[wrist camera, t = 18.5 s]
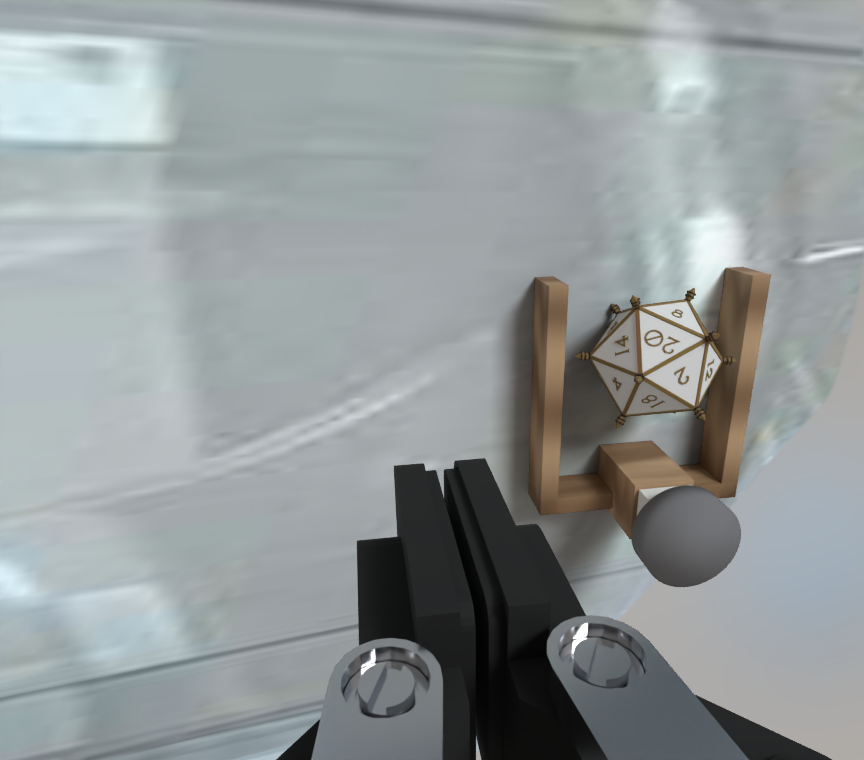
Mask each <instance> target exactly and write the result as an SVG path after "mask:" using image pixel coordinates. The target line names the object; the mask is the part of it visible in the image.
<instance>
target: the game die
mask: <svg viewBox="0 0 864 760" xmlns="http://www.w3.org/2000/svg"><path fill="white" fill-rule="evenodd" d="M695 295H696V294H695V288H693V289H691V290H689V291H687V294H685V296H686V298H685V299H684V300H677V301H670V302H662V303H654V304H647V305H640V303H641V302H640V301H639V300H640V298H637V297H635V296H632V298H631V300H630V302H631V304H632V308H629V309H626V310H623V311H620V308H619V306H618V305H617V304H616V305H614V304H611V311H613V313H615V314H616V316H615V318H614V319H613V320H612V322H611V323H610V325H609V326H608V328H607V329H606V331H605V332H604V334H603V335H602V336H601V338H600V339H599V341H598V342H597V344H596V345H595V347H594V348H593V350H592V351H591V352H590V354H588V353H586V352H585V353H583V352H581V353H579V354H577V355H576V356H575V357H577V358H579V359H580V360H582V359H584V360H586V359H590V361H591V363H592V365H593V366H594V368H595V370H596V372H597V373H598V375H599V377H600V378H601V380H602V382H603V384H604V385H605V387H606V389H607V390H608V392H609V394H610V396H611V397H612V399H613V401H614V403H615V404H616V406H617V408H618V409H619V411H620V413H621V415H620V416H619V417H617V418H618V419H617V420H615V421H616V428H618V427H620V426H621V425H624V424H623V423H624V421H625V418H626V417H628V416H639V415H650V414H661V413H676V412H683V411H694V412H695V415H696V416H697V418H698V419H702V420H704V421H706V420H705V414H706V412H703V409H702V410H701V409H700V408H699V407H698V406H699V404H700V403H701V401H702V399H703V397H704V395H705V393H706V391H707V389H708V388H709V386H710V384H711V382H712V380H713V378H714V376H715V375H716V373H717V371H718V369H719V367H720V365H721V363H724V364H725V365H727V364H729V365H731V364H732V363H734V362H735V361H737V360H735V359H734V358H732V357H725V358H722V356H721V355H720V353H719V351H718V349H717V348H716V346H715V344H714V343H713V341H716V340H719V339H718V338H719V336H720V335H721V334H719V333H716V332H714V331H713V332H712V333H709V334H708V332H707V330H706V329H705V327H704V325H703V324H702V322H701V320H700V318H699V317H698V315H697V313H696V311H695V310H694V308H693V306H692V305H691V303H690V301H691V300H692V299H694V298H693V297H694V296H695Z"/></svg>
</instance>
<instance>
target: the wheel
mask: <svg viewBox="0 0 864 760" xmlns="http://www.w3.org/2000/svg"><path fill="white" fill-rule="evenodd" d="M631 538H632V544H633V548H634V550H635V552H636V554H637V555H638V556H639V558H640V559H641V561H642V562H643V563H644V565H645V566H646V567H647V569H648V570H649V572H650V573H651V574H652V575H653V576H654V577H655V578H656V579H657V580H658V581H660V582H662V583H664V584H666V585H670V586H674V587H689V586H694V585H698V584H701V583H703V582H706V581H708V580H710V579H712V578H713V577H715V576H716V575H717V574H719V573H720V572H721V571H722V570H724V568H726V567H727V565H728V564H729V563H730V562H731V561H732V559H733V558H734V556H735V554H736V552H737V549H738V547H739V543H740V539H741V529H740V524H739V521H738V519H737V517H736V516H735V514H734V513H733V512H732V511H731V510H730V509H729V508H728V507H727V506H726V505H725V504H724V503H723V502H721V501H720V500H719V499H718V498H717V497H716V496H715V495H714V494H713V493H711V492H710V491H708V490H707V489H704V488H702V487H698V486H692V485H683V486H673V487H662V488H651V489H640V490H639V496H638V506H637V516H636V519H635V521H634V524H633V527H632V537H631Z"/></svg>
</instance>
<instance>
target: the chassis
mask: <svg viewBox="0 0 864 760" xmlns="http://www.w3.org/2000/svg"><path fill="white" fill-rule="evenodd" d="M770 278H771V275H770V274H766V273H762V272H759V271H755V270H751V269H748V268H744V267H735V268H726V271H725V278H724V285H723V293H722V300H721V307H720V315H719V322H718V329H717V333H719V334H721V335H720V336H719V338H718V339H719V340H716V344H715V346H716V348H717V349H718V351H719V353H720V355H721V356H722V358H725V357H732V358H734V359H735V360H737V361H735V362H734V363H732V364H731V365H729V364H727V365H725V364H724V363H721V365H720V367H719V369H718V371H717V373H716V375H715V376H714V378H713V380H712V382H711V384H710V388H709V395H708V402H707V410H706V417H705V420H706V421H705V424H704V432H703V439H702V446H701V454H700V461H699V464H695V465H683V466H678V465H677V464H676V463H675V462H674V461H673V460H672V459H671V458H670V457H669V456H668V455H667V454H665V453H664V452H663V451H662V450H661V449H660V448H659V447H658V446H657V445H656V444H655V443H654V442H653V441H641V442H629V443H617V444H605V445H599V456H598V470H597V473H591V474H580V475H568V476H559V465H560V445H561V425H562V406H563V386H564V366H565V346H566V326H567V306H568V286H569V285H567V284H565V283H564V282H562V281H560V280H558V279H557V278H555V277H535V302H534V334H533V366H532V398H531V430H530V462H529V495H530V497H531V499H532V501H533V503H534V504H535V506H536V508H537V510H538V512H539V514H540V515H548V514H559V513H569V512H580V511H591V510H601V509H608V510H609V512H610V513H611V514H612V516H613V517H614V518H615V520H616V521H617V522H618V524H619V525H620V526H621V528H622V529H623V531H624V532H625V533H626V535H627V536H628V537H629V539H632V538H631V537H632V527H633V524H634V521H635V519H636V516H637V506H638V496H639V490H640V489H651V488H662V487H673V486H683V485H692V486H698V487H702V488H704V489H707V490H708V491H710V492H711V493H713V494H714V495H715V496H716V497H717V498H729V497H735V494H736V488H737V481H738V475H739V469H740V463H741V457H742V451H743V444H744V438H745V432H746V426H747V420H748V414H749V407H750V401H751V395H752V389H753V383H754V377H755V370H756V364H757V358H758V352H759V346H760V340H761V333H762V327H763V321H764V315H765V309H766V303H767V296H768V290H769V284H770Z"/></svg>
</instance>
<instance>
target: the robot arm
mask: <svg viewBox="0 0 864 760" xmlns="http://www.w3.org/2000/svg"><path fill="white" fill-rule="evenodd" d="M394 480H395V499H396V518H397V537H392V538H381V539H371V540H360V541H357V568H358V616H359V646H357V647H356V648H354V649H353V650H351V651H350V652H348V653H347V654H345V655H344V656H343V658H342V659H341V660H340V661H339V662H338V663H337V665H336V666H335V667H334V670H333V672H332V674H331V677H330V679H329V683H328V687H327V692H326V696H325V701H324V705H323V710H322V714H321V719H320V720H319V721H318V722H316V723H315V724H314V725H313V726H312V727H311V728H310V729H309V730H308V731H307V732H306V733H305V734H304V735H302V736H301V737H300V738H299V739H298V740H297V741H296V742H295V743H294V744H293V745H292V746H291V747H289V748H288V749H287V750H286V751H285V752H284V753H283V754H282V755H281V756H280V757H279V758H278V759H277V760H476V737H477V741H478V746H479V750H480V755H481V759H482V760H832V759H830V758H828V757H826V756H825V755H822V754H820V753H818V752H816V751H814V750H812V749H810V748H808V747H805V746H803V745H801V744H799V743H797V742H795V741H793V740H790V739H788V738H786V737H784V736H782V735H780V734H778V733H775V732H773V731H771V730H769V729H767V728H765V727H763V726H761V725H758V724H756V723H754V722H752V721H750V720H748V719H746V718H743V717H741V716H739V715H737V714H735V713H733V712H731V711H729V710H726V709H724V708H722V707H720V706H717V705H716V704H714V703H712V702H709V701H707V700H705V699H703V698H701V697H699V696H697V695H694V693H692V691H691V690H690V689H689V688H688V686H687V685H686V684H685V683H684V682H683V680H682V679H681V678H680V677H679V676H678V674H677V673H676V672H675V671H674V670H673V668H672V667H671V666H670V665H669V664H668V662H667V661H666V660H665V659H664V658H663V657H662V655H661V654H660V653H659V652H658V651H657V649H656V648H655V647H654V646H653V645H652V643H650V641H649V640H648V639H646V638H645V637H644V636H643V635H642V634H641V633H640V632H639V631H638V630H636V629H634V628H632V627H631V626H629V625H627V624H625V623H624V622H621V621H618V620H614V619H611V618H608V617H601V616H592V615H589V616H586V615H585V613H584V611H583V609H582V607H581V605H580V603H579V601H578V599H577V597H576V595H575V593H574V592H573V590H572V588H571V586H570V584H569V582H568V580H567V578H566V576H565V574H564V572H563V570H562V568H561V567H560V565H559V563H558V561H557V559H556V557H555V555H554V553H553V551H552V549H551V547H550V545H549V544H548V542H547V540H546V538H545V536H544V534H543V532H542V530H541V529H540V527H539V526H538V525H537V524H528V525H517V526H516V525H515V523H514V521H513V519H512V516H511V514H510V512H509V510H508V508H507V505H506V503H505V501H504V499H503V497H502V494H501V492H500V490H499V488H498V486H497V483H496V481H495V479H494V477H493V475H492V472H491V470H490V468H489V466H488V464H487V462H486V460H485V458H483V459H471V460H459V461H455V463H454V469H445V470H444V497H443V494H442V490H441V486H440V483H439V479H438V476H437V472H436V470H432V471H426V470H425V466H424V464H411V465H398V466H394Z"/></svg>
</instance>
